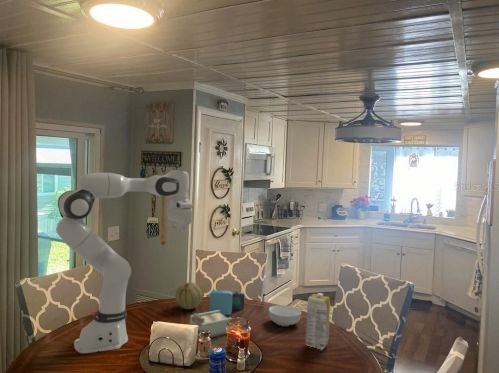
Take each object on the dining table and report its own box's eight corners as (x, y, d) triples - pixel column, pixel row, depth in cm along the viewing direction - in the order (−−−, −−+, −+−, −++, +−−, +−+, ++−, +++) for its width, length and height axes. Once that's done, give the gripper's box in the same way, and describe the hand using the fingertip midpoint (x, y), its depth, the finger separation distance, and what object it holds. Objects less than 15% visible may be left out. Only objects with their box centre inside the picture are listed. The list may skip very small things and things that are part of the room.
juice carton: (329, 345, 182) (331, 294, 181) (323, 352, 175) (326, 298, 174) (310, 340, 187) (312, 290, 186) (303, 346, 180) (306, 294, 179)
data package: (231, 312, 219) (232, 290, 219) (231, 315, 215) (232, 293, 214) (209, 311, 219) (210, 290, 219) (209, 314, 215) (209, 292, 214)
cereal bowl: (306, 328, 202) (307, 314, 201) (276, 331, 196) (277, 317, 195) (290, 316, 217) (291, 303, 217) (263, 319, 211) (263, 306, 211)
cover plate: (201, 327, 185) (202, 319, 185) (192, 320, 193) (193, 313, 193) (229, 321, 193) (229, 314, 193) (219, 315, 201) (219, 308, 201)
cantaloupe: (202, 304, 231) (203, 278, 230) (201, 313, 216) (201, 286, 215) (176, 303, 230) (177, 278, 229) (173, 312, 215) (174, 285, 214)
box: (202, 339, 183) (202, 324, 183) (189, 329, 194) (190, 315, 194) (231, 332, 192) (232, 318, 192) (218, 323, 203) (218, 309, 203)
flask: (227, 309, 224) (228, 290, 223) (227, 307, 226) (228, 289, 226) (243, 310, 224) (244, 291, 223) (243, 308, 227) (244, 289, 226)
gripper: (164, 201, 199) (163, 228, 200) (182, 205, 183) (181, 234, 183) (176, 200, 203) (175, 227, 204) (194, 204, 186) (193, 234, 187)
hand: (178, 231), depth 193 cm, fingers open, 8 cm apart
